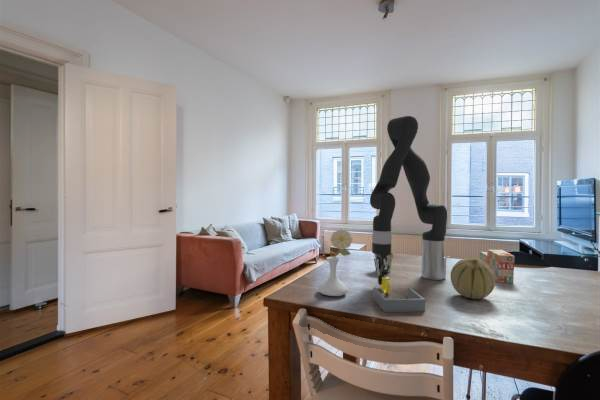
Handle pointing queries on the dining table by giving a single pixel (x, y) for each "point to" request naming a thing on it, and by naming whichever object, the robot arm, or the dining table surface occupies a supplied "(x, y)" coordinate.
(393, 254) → the flower pot
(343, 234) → the flower in vase
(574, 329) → the dining table surface
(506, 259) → the printed cardboard carton
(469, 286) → the cantaloupe
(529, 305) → the dining table surface
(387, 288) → the watch
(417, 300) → the box
